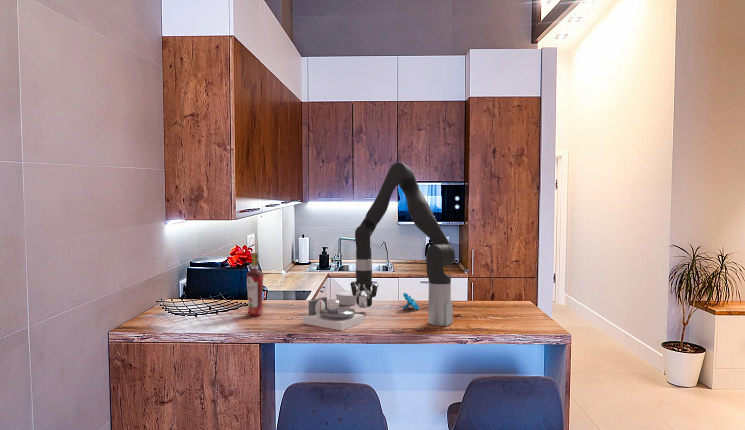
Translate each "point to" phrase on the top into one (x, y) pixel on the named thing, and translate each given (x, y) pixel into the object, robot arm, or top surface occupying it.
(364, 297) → the spacer
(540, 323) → the top surface
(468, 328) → the top surface
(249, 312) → the liquor
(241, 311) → the top surface
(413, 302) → the blue plastic branched piece
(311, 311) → the scale
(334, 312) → the block
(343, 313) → the pan
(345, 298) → the ramekin
